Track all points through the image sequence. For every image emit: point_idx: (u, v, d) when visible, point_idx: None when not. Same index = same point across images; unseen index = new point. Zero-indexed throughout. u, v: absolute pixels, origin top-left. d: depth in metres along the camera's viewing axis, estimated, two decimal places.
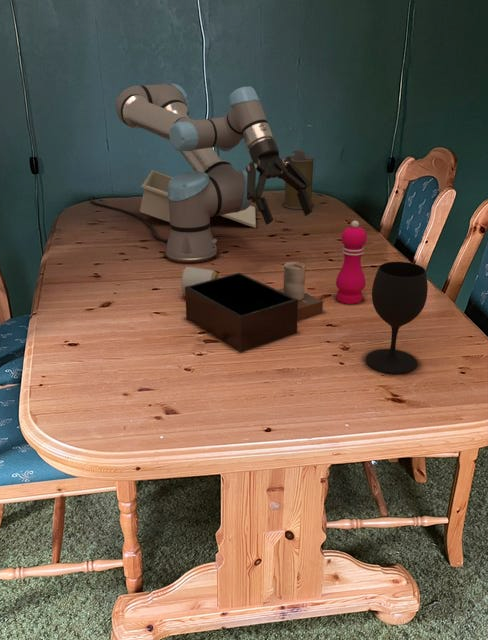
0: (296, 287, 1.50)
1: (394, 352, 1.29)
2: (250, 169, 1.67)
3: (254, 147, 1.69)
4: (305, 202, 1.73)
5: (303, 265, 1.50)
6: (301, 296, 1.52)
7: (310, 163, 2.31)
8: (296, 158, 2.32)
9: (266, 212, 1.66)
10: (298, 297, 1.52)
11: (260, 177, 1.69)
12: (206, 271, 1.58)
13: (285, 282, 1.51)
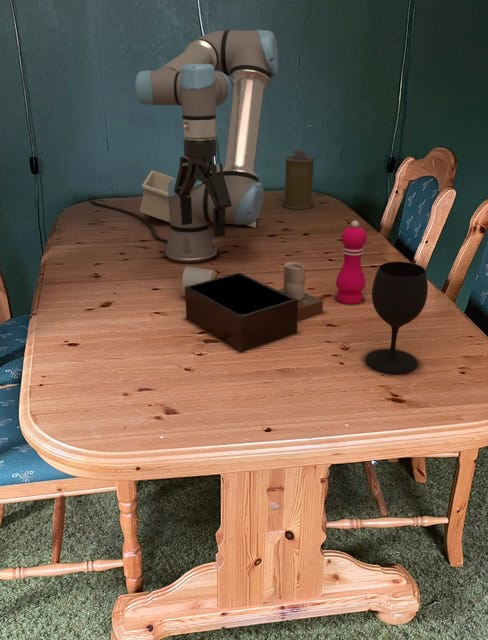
0: (296, 287, 1.50)
1: (394, 352, 1.29)
2: None
3: None
4: None
5: (303, 265, 1.50)
6: (301, 296, 1.52)
7: (310, 163, 2.31)
8: (296, 158, 2.32)
9: None
10: (298, 297, 1.52)
11: None
12: (206, 271, 1.58)
13: (285, 282, 1.51)
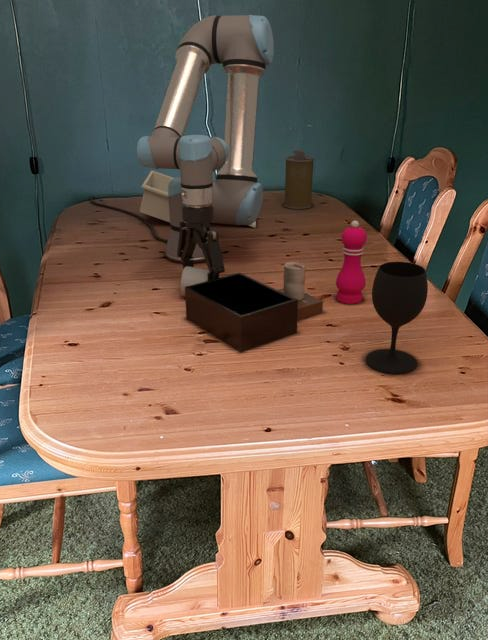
0: (296, 287, 1.50)
1: (394, 352, 1.29)
2: None
3: None
4: None
5: (303, 265, 1.50)
6: (301, 296, 1.52)
7: (310, 163, 2.31)
8: (296, 158, 2.32)
9: None
10: (298, 297, 1.52)
11: None
12: (205, 271, 1.58)
13: (285, 282, 1.51)
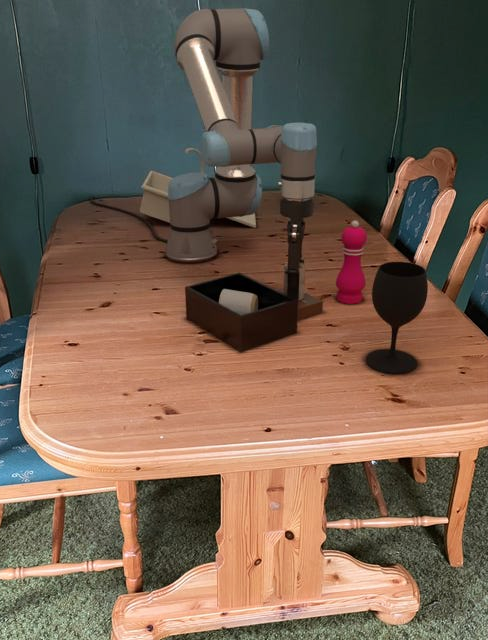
0: None
1: (394, 352, 1.29)
2: None
3: None
4: None
5: (303, 265, 1.50)
6: (301, 296, 1.52)
7: None
8: None
9: None
10: None
11: None
12: (245, 294, 1.42)
13: (285, 282, 1.51)
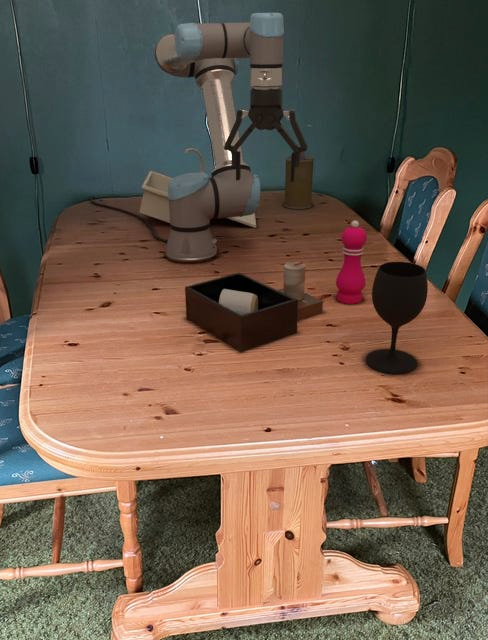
0: None
1: (394, 352, 1.29)
2: None
3: (250, 93, 1.50)
4: (291, 168, 1.57)
5: (294, 262, 1.52)
6: None
7: (310, 163, 2.31)
8: None
9: (236, 169, 1.59)
10: None
11: None
12: (245, 294, 1.42)
13: (300, 283, 1.50)
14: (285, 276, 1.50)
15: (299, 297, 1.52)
